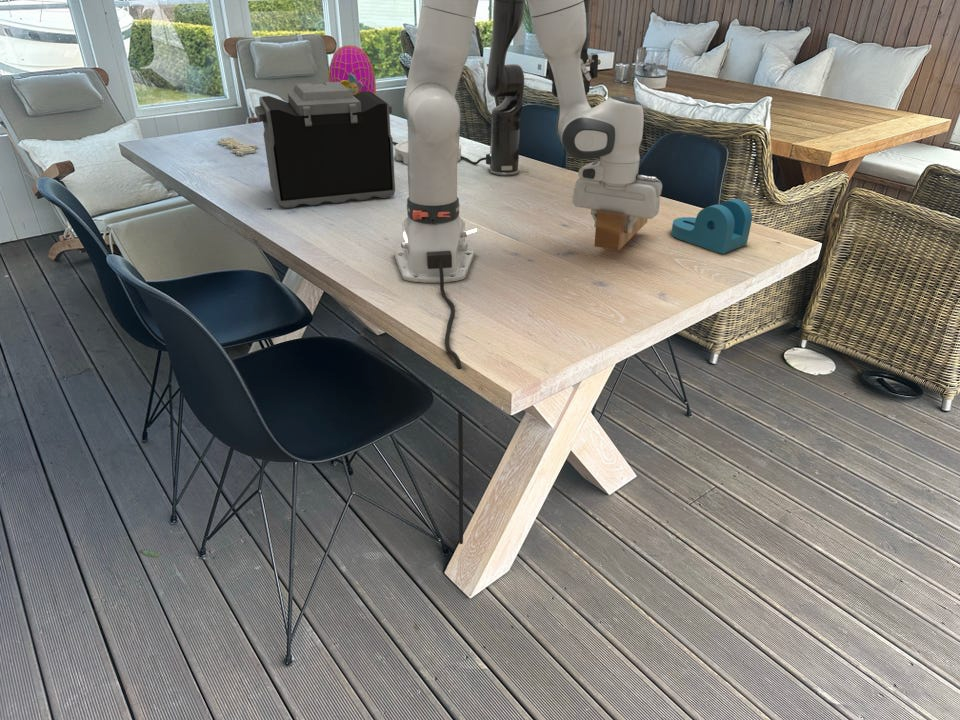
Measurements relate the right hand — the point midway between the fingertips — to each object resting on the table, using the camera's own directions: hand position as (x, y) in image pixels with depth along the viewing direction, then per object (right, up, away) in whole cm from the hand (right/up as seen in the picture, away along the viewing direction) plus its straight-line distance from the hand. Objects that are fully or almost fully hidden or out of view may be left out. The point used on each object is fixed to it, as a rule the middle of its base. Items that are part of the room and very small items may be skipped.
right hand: (570, 95), depth 188 cm
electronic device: (-69, -22, +18) cm, 75 cm away
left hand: (+7, -42, -25) cm, 49 cm away
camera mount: (+33, -42, -12) cm, 54 cm away
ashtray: (-43, -1, +56) cm, 70 cm away
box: (+11, -41, -18) cm, 46 cm away
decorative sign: (-114, +6, +66) cm, 132 cm away
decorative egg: (-78, +29, +105) cm, 134 cm away
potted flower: (-71, +10, +74) cm, 103 cm away
